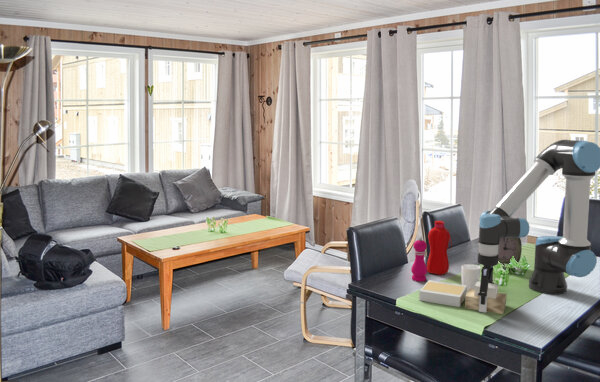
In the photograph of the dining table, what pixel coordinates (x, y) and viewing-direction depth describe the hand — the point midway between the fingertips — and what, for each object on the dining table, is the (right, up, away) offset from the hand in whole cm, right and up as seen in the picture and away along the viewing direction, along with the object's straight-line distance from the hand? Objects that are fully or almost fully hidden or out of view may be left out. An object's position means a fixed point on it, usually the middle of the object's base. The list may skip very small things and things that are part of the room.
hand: (485, 306), depth 207 cm
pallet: (0, 0, 0) cm, 0 cm away
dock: (-14, +1, +10) cm, 17 cm away
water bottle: (-6, +6, +44) cm, 45 cm away
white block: (0, +5, -1) cm, 5 cm away
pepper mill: (-18, +5, +34) cm, 39 cm away
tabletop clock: (+27, +7, +52) cm, 59 cm away
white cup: (+1, +3, +21) cm, 21 cm away
